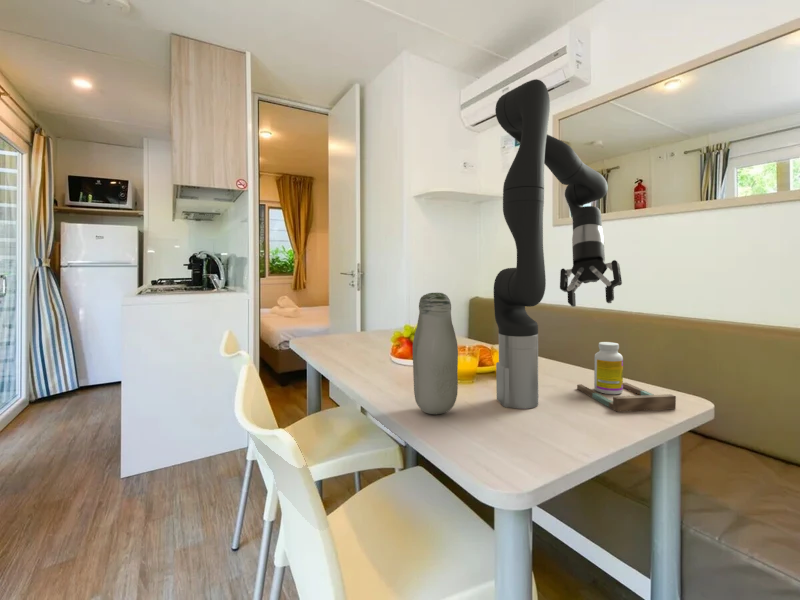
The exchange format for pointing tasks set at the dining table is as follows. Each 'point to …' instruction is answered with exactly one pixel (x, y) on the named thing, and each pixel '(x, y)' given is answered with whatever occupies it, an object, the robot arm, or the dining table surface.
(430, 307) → the grey bottle
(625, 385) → the frame
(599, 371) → the supplement bottle
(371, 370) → the dining table surface
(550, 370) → the dining table surface
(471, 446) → the dining table surface
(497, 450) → the dining table surface
